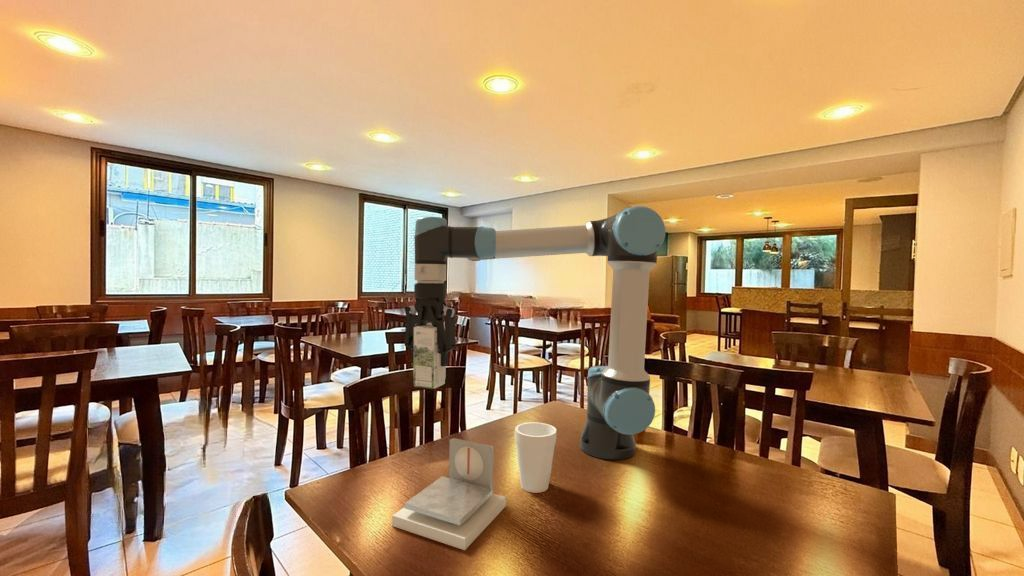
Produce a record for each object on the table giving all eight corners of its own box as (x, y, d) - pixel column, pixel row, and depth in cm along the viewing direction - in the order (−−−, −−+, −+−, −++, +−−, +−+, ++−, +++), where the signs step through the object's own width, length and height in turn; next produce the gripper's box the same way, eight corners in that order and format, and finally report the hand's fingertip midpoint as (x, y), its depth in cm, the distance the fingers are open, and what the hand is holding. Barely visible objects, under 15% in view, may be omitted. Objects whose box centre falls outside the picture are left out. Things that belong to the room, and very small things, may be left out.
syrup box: (445, 383, 106) (446, 325, 105) (433, 389, 100) (434, 327, 100) (425, 381, 108) (425, 323, 107) (412, 387, 102) (412, 326, 102)
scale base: (505, 506, 89) (506, 449, 89) (464, 550, 74) (465, 481, 74) (441, 488, 96) (441, 435, 95) (392, 526, 81) (392, 463, 81)
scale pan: (492, 494, 87) (492, 489, 87) (460, 525, 76) (460, 520, 76) (442, 480, 93) (442, 476, 93) (404, 508, 82) (404, 503, 82)
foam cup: (552, 498, 92) (553, 438, 92) (510, 493, 94) (511, 434, 94) (557, 478, 102) (558, 424, 101) (518, 474, 103) (519, 420, 103)
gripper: (388, 281, 104) (388, 376, 105) (455, 283, 96) (454, 386, 96) (408, 281, 111) (408, 370, 111) (472, 282, 103) (471, 379, 103)
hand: (429, 377), depth 104 cm, fingers closed on syrup box, 6 cm apart
